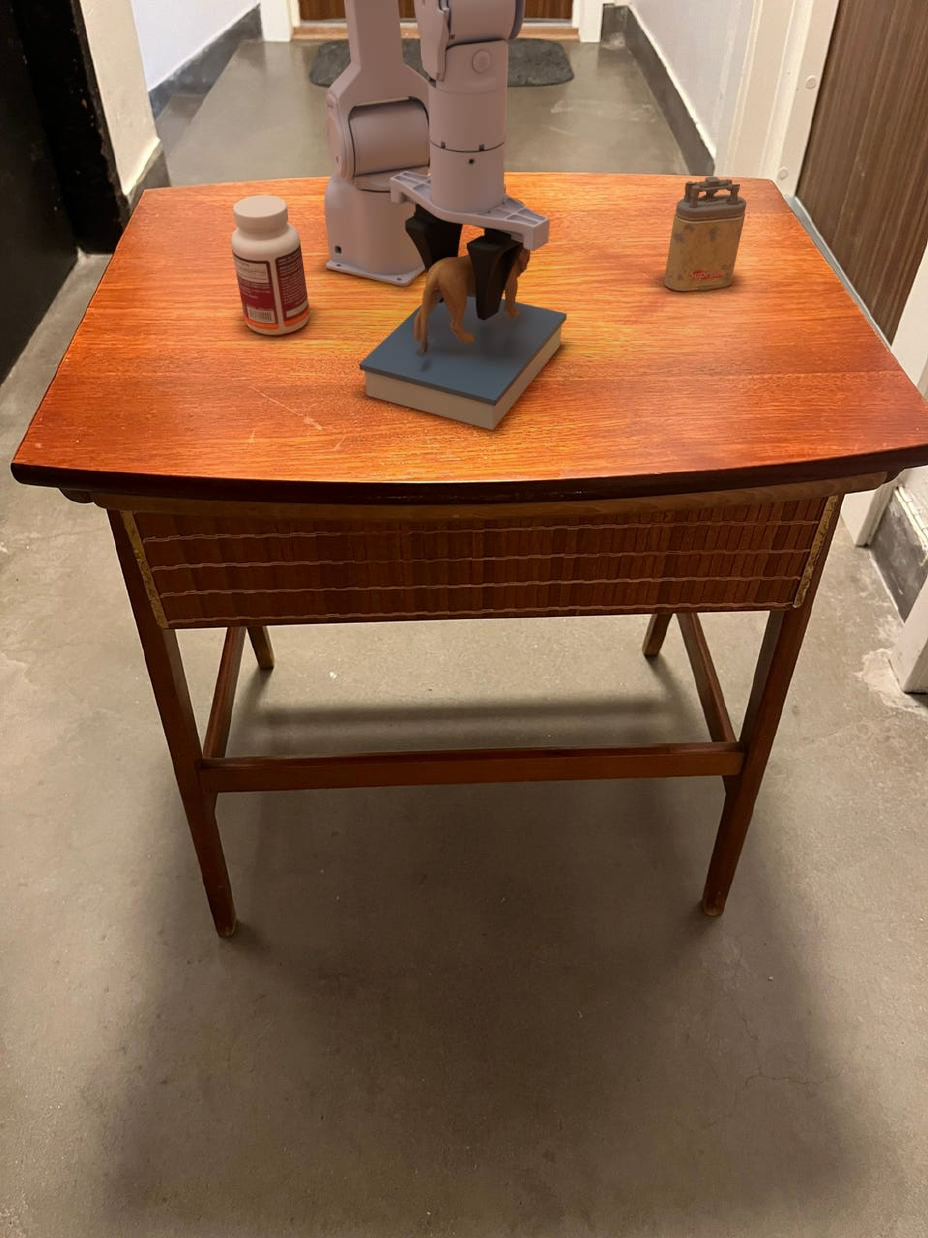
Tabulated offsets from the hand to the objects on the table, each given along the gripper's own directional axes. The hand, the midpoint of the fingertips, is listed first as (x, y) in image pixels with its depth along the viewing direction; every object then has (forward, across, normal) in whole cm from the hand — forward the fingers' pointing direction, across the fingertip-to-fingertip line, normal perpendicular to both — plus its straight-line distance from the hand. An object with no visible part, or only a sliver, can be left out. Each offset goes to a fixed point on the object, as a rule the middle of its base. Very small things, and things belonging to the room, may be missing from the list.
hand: (466, 306), depth 83 cm
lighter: (+6, -8, -28) cm, 29 cm away
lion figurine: (+2, 0, -1) cm, 2 cm away
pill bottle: (+6, +20, +5) cm, 21 cm away
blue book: (+6, 0, 0) cm, 6 cm away
